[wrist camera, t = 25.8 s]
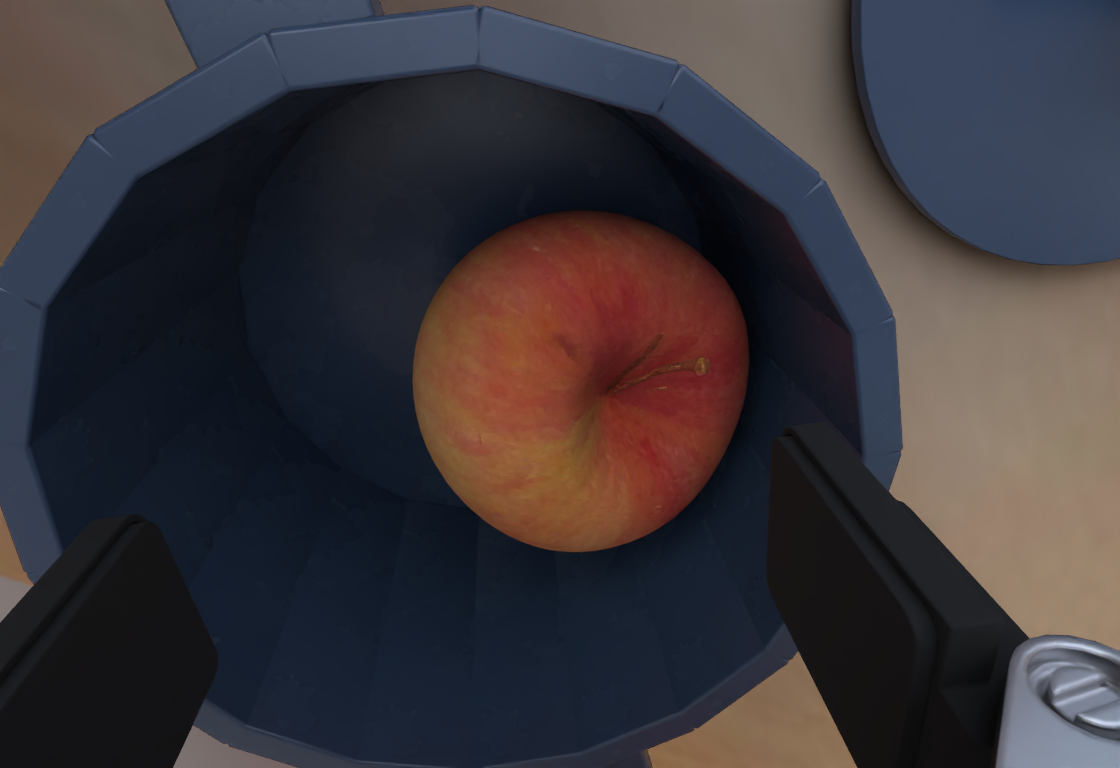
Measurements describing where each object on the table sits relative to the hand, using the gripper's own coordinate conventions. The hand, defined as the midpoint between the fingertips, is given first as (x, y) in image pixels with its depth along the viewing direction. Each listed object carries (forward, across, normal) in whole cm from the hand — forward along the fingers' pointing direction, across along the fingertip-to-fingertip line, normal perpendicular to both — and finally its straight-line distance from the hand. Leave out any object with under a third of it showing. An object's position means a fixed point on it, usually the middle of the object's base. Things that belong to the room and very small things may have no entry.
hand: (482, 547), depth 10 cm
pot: (+10, 0, 0) cm, 10 cm away
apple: (+9, 0, 0) cm, 9 cm away
